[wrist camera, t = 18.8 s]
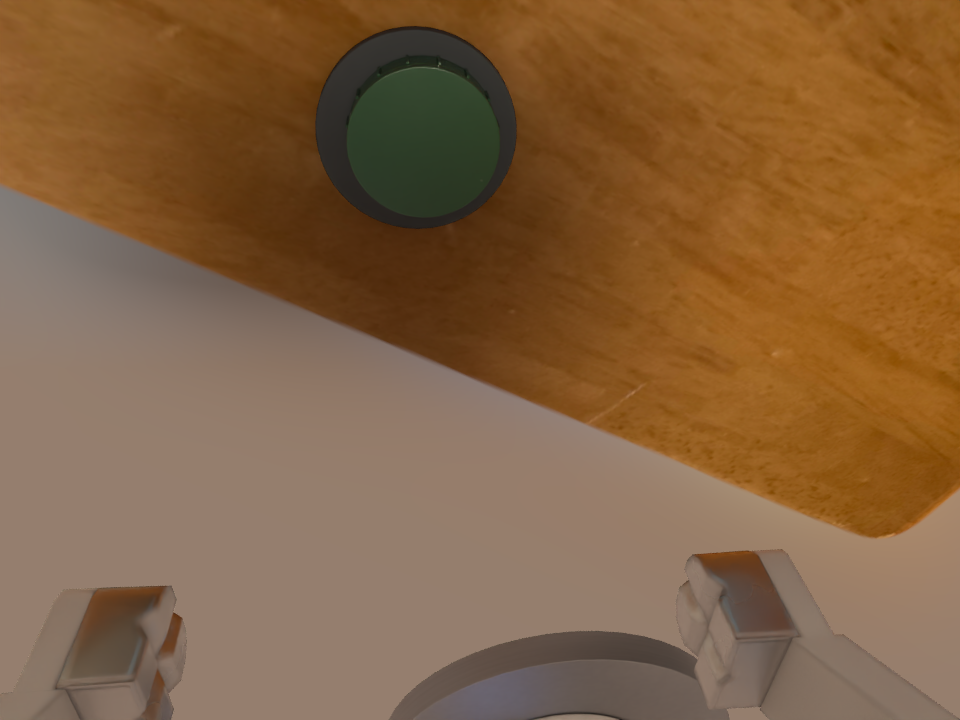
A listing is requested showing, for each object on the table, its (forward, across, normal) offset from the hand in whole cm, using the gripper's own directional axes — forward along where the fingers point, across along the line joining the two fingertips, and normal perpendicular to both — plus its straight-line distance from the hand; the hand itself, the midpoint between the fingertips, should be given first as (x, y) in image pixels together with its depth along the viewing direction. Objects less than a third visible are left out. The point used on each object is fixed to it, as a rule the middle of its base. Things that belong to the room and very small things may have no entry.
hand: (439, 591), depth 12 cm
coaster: (+22, 0, 0) cm, 22 cm away
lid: (+20, 0, 0) cm, 20 cm away
